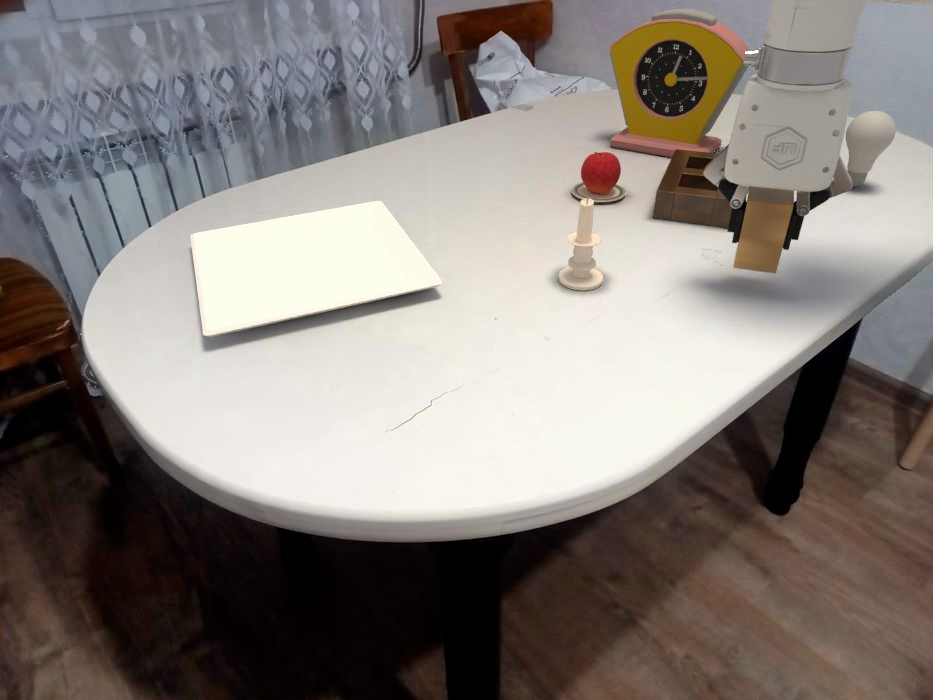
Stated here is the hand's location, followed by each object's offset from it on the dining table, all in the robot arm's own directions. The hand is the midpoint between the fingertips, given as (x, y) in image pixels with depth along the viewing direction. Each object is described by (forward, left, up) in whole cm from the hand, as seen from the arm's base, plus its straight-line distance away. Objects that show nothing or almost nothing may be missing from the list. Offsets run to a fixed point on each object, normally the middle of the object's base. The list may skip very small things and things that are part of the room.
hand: (760, 239), depth 72 cm
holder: (+8, -24, -6) cm, 26 cm away
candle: (+18, +5, -6) cm, 20 cm away
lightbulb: (-13, -36, -6) cm, 38 cm away
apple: (+22, -21, -6) cm, 31 cm away
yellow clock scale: (+16, -45, -6) cm, 48 cm away
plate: (+50, +14, -6) cm, 53 cm away
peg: (0, 0, -3) cm, 3 cm away
